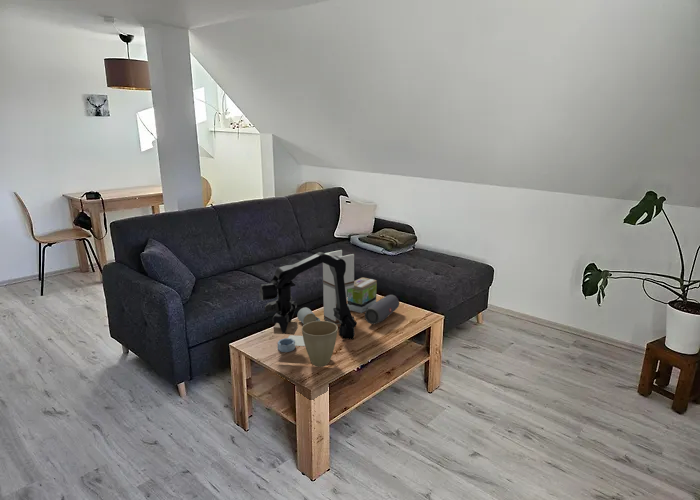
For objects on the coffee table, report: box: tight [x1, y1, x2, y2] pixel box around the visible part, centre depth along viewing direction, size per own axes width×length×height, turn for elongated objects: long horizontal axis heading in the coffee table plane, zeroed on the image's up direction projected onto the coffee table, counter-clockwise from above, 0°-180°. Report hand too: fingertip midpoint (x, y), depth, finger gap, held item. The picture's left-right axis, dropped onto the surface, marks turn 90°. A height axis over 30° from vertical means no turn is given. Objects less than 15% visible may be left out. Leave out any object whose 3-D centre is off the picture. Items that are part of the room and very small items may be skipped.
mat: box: [287, 334, 305, 347], centre depth 216 cm, size 10×10×1 cm
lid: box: [273, 321, 299, 335], centre depth 206 cm, size 9×6×4 cm
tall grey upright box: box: [322, 249, 355, 325], centre depth 236 cm, size 11×11×35 cm
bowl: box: [277, 337, 296, 353], centre depth 208 cm, size 7×7×4 cm
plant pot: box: [301, 320, 339, 368], centre depth 196 cm, size 15×15×16 cm
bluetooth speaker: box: [364, 294, 400, 325], centre depth 241 cm, size 23×9×10 cm, turn 148°
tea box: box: [347, 276, 378, 314], centre depth 255 cm, size 15×10×15 cm
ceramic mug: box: [297, 306, 321, 326], centre depth 235 cm, size 11×8×8 cm
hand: (285, 329), depth 206 cm, fingers closed on lid, 6 cm apart
